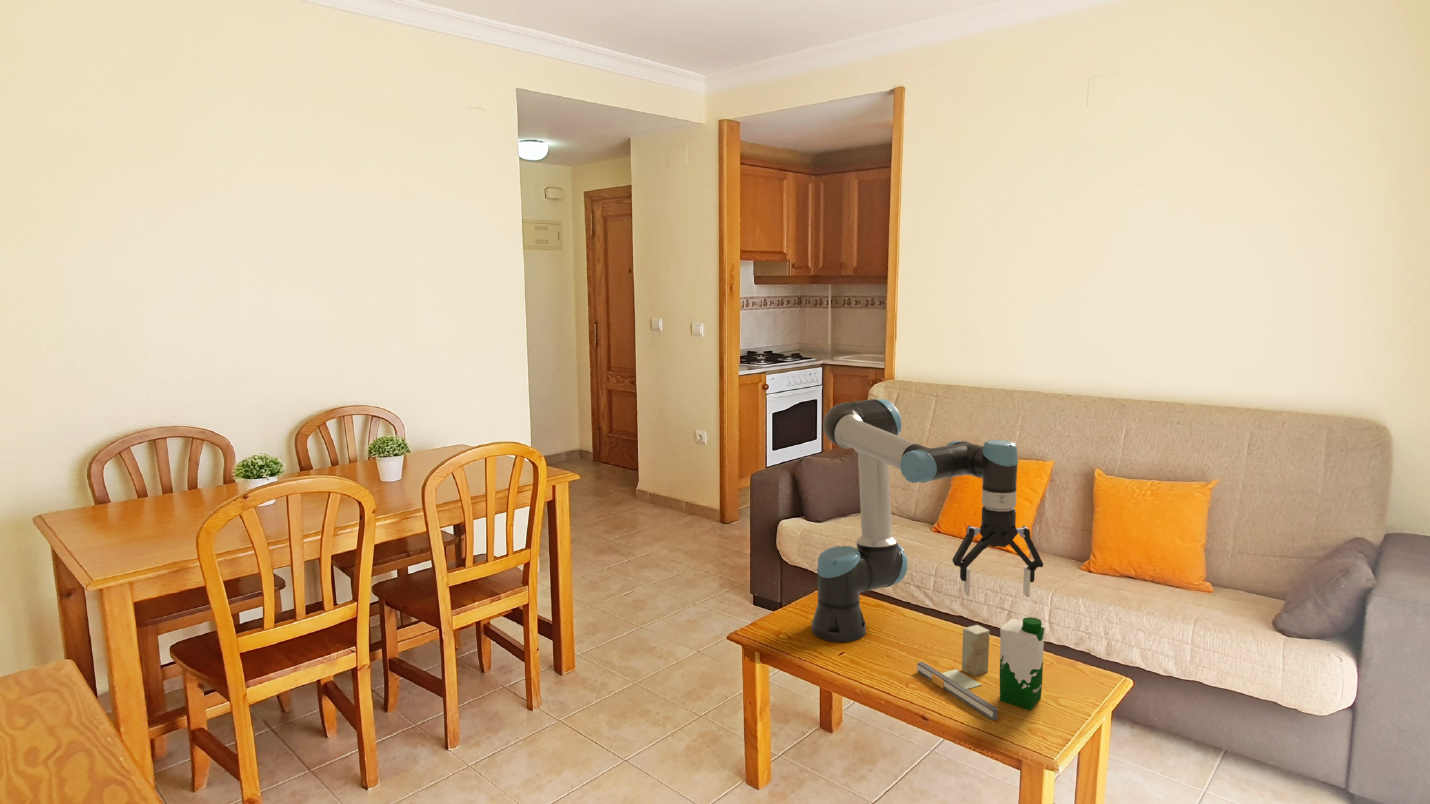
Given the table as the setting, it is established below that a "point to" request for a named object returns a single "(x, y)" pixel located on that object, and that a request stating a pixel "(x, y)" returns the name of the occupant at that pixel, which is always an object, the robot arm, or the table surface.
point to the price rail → (958, 691)
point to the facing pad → (961, 679)
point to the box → (975, 650)
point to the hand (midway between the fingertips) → (996, 594)
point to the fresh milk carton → (1021, 662)
